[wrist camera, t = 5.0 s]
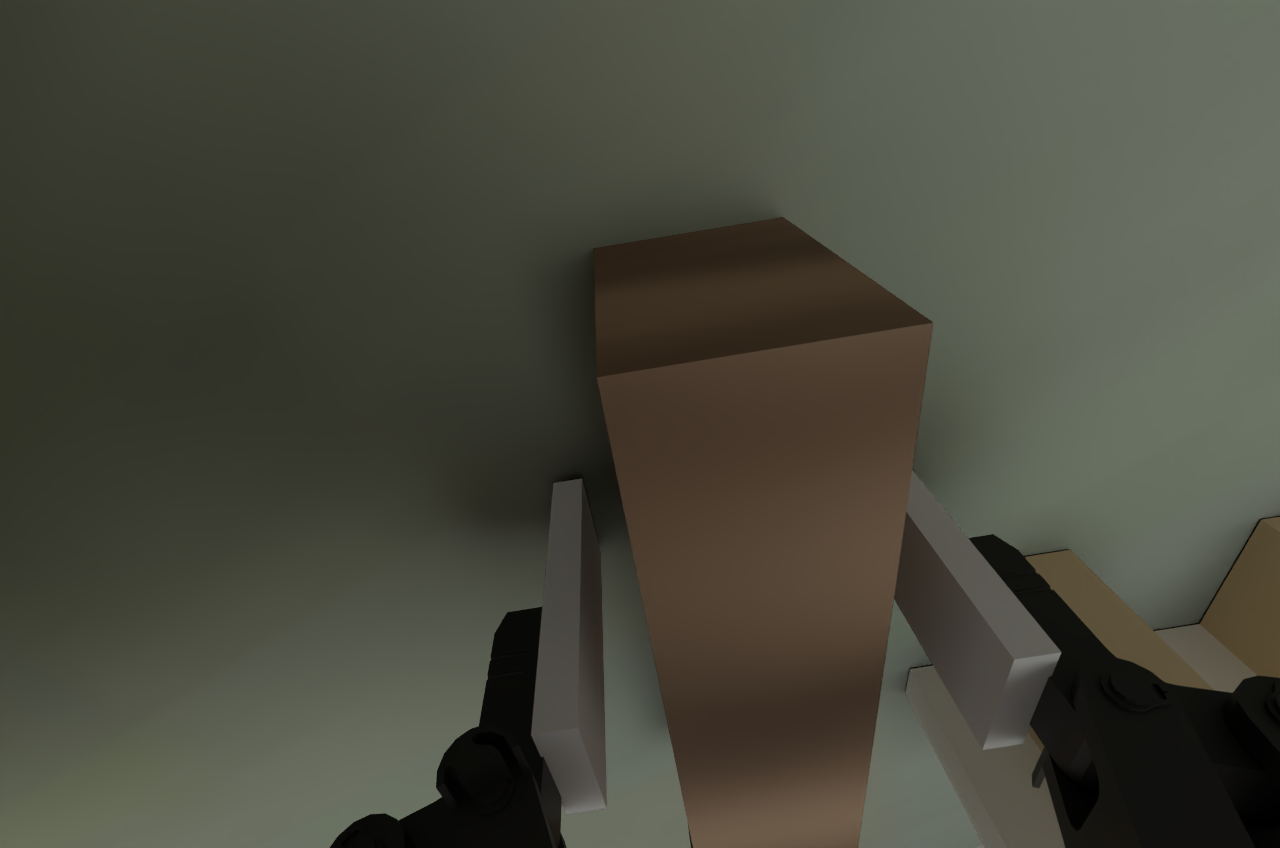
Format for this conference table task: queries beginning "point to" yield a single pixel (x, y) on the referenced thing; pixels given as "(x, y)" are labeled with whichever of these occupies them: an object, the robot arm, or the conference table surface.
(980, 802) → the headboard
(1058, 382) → the conference table surface
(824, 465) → the rail
